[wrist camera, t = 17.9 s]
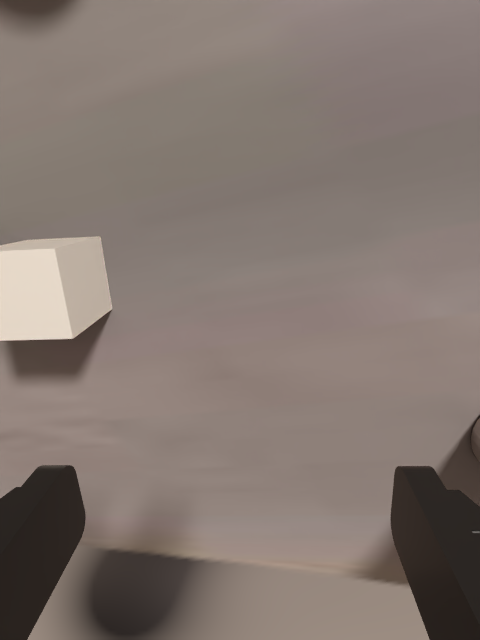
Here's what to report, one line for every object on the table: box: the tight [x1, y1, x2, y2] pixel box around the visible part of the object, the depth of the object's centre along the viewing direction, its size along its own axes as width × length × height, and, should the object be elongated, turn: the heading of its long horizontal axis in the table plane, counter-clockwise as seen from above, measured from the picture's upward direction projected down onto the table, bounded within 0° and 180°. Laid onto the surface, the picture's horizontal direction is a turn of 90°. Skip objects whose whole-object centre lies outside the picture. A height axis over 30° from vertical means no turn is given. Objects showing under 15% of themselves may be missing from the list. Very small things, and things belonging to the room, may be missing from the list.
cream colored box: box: [0, 237, 112, 341], centre depth 32 cm, size 7×7×8 cm
